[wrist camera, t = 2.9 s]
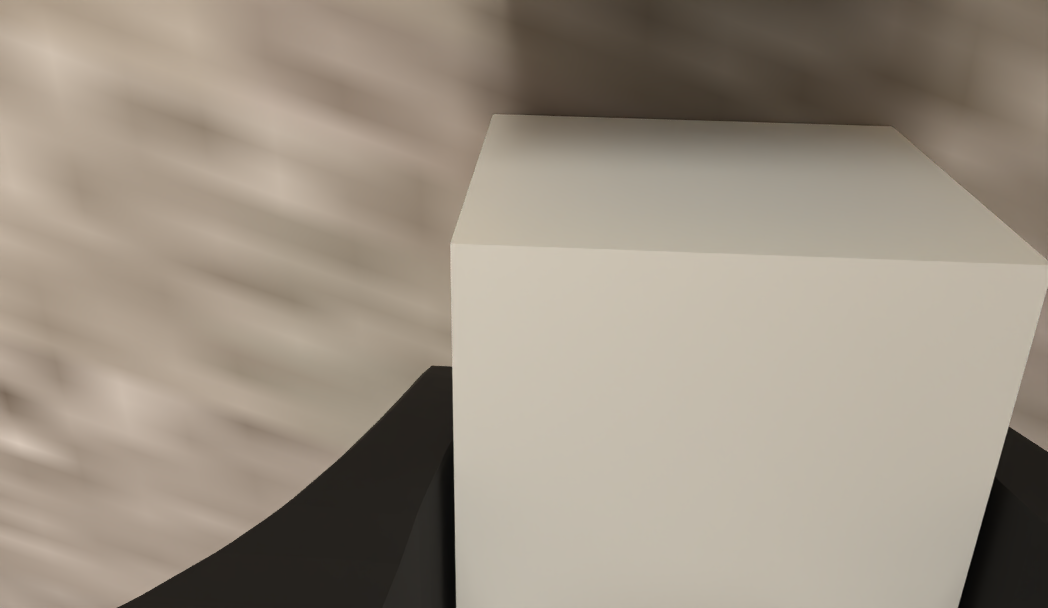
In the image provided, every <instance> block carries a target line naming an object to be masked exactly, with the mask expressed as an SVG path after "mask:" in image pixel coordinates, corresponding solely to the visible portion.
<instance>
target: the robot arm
mask: <svg viewBox="0 0 1048 608" xmlns="http://www.w3.org/2000/svg"><path fill="white" fill-rule="evenodd" d="M118 608H456V564H455V502H454V441H453V379H452V367H447V366H431V367H430V368H429V369H428V370H426V371H425V372H424V373H423V374H422V375H421V376H420V377H419V378H418V379H417V380H416V381H415V382H414V384H413V385H412V386H411V387H410V388H409V389H408V390H407V391H406V392H405V393H404V394H403V396H402V397H401V398H400V399H399V400H398V401H397V402H396V403H395V404H394V405H393V406H392V407H391V408H390V409H389V410H388V411H387V412H386V414H385V415H384V416H383V417H382V418H381V419H380V420H379V421H378V422H377V423H376V424H375V425H374V426H373V427H372V428H371V429H370V430H369V431H368V432H367V433H366V434H365V435H363V436H362V437H361V438H360V439H359V440H358V441H357V442H356V443H355V444H354V445H353V446H352V447H351V448H350V449H349V450H348V451H347V452H346V453H345V454H344V455H343V456H342V457H341V458H340V459H338V460H337V461H336V462H335V463H334V464H333V465H332V466H330V467H329V468H328V469H327V470H326V471H325V472H323V473H322V474H321V475H320V476H319V477H318V478H316V479H315V480H314V481H313V482H312V483H311V484H309V485H308V486H307V487H306V488H305V489H304V490H302V491H301V492H300V493H299V494H298V495H297V496H295V497H294V498H293V499H292V500H291V501H289V502H288V503H287V504H285V505H284V506H283V507H282V508H280V509H279V510H277V511H276V512H275V513H273V514H272V515H271V516H269V517H268V518H267V519H265V520H264V521H262V522H261V523H259V524H258V525H256V526H255V527H253V528H252V529H251V530H249V531H248V532H246V533H245V534H243V535H242V536H240V537H239V538H237V539H236V540H234V541H233V542H232V543H230V544H228V545H227V546H225V547H224V548H222V549H221V550H219V551H217V552H216V553H214V554H212V555H211V556H209V557H207V558H205V559H204V560H202V561H200V562H199V563H197V564H195V565H193V566H192V567H190V568H188V569H186V570H185V571H183V572H181V573H179V574H178V575H176V576H174V577H172V578H171V579H169V580H167V581H166V582H164V583H162V584H160V585H159V586H157V587H155V588H153V589H152V590H150V591H148V592H146V593H145V594H143V595H141V596H139V597H137V598H135V599H134V600H132V601H130V602H128V603H126V604H124V605H122V606H120V607H118ZM958 608H1048V452H1047V451H1045V450H1044V449H1042V448H1041V447H1039V446H1038V445H1036V444H1035V443H1033V442H1032V441H1030V440H1029V439H1027V438H1025V437H1024V436H1022V435H1021V434H1019V433H1018V432H1016V431H1015V430H1013V429H1012V428H1010V427H1008V430H1007V434H1006V438H1005V441H1004V445H1003V448H1002V452H1001V455H1000V459H999V463H998V466H997V470H996V473H995V477H994V480H993V484H992V488H991V491H990V495H989V498H988V502H987V505H986V509H985V512H984V516H983V520H982V523H981V527H980V530H979V534H978V537H977V541H976V545H975V548H974V552H973V555H972V559H971V562H970V566H969V570H968V573H967V577H966V580H965V584H964V587H963V591H962V595H961V598H960V602H959V605H958Z"/></svg>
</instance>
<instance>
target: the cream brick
mask: <svg viewBox="0 0 1048 608" xmlns="http://www.w3.org/2000/svg"><path fill="white" fill-rule="evenodd" d="M450 256H451V318H452V379H453V441H454V502H455V564H456V608H958V605H959V602H960V598H961V595H962V591H963V587H964V584H965V580H966V577H967V573H968V570H969V566H970V562H971V559H972V555H973V552H974V548H975V545H976V541H977V537H978V534H979V530H980V527H981V523H982V520H983V516H984V512H985V509H986V505H987V502H988V498H989V495H990V491H991V488H992V484H993V480H994V477H995V473H996V470H997V466H998V463H999V459H1000V455H1001V452H1002V448H1003V445H1004V441H1005V438H1006V434H1007V430H1008V427H1009V423H1010V420H1011V416H1012V413H1013V409H1014V405H1015V402H1016V398H1017V395H1018V391H1019V388H1020V384H1021V381H1022V377H1023V373H1024V370H1025V366H1026V363H1027V359H1028V356H1029V352H1030V348H1031V345H1032V341H1033V338H1034V334H1035V331H1036V327H1037V323H1038V320H1039V316H1040V313H1041V309H1042V306H1043V302H1044V298H1045V295H1046V291H1047V288H1048V260H1047V259H1046V258H1044V257H1043V256H1042V255H1041V254H1040V253H1039V252H1037V251H1036V250H1035V249H1034V248H1033V247H1032V246H1030V245H1029V244H1028V243H1027V242H1026V241H1025V240H1024V239H1022V238H1021V237H1020V236H1019V235H1018V234H1017V233H1015V232H1014V231H1013V230H1012V229H1011V228H1010V227H1008V226H1007V225H1006V224H1005V223H1004V222H1003V221H1001V220H1000V219H999V218H998V217H997V216H996V215H995V214H993V213H992V212H991V211H990V210H989V209H988V208H986V207H985V206H984V205H983V204H982V203H981V202H979V201H978V200H977V199H976V198H975V197H974V196H973V195H971V194H970V193H969V192H968V191H967V190H966V189H964V188H963V187H962V186H961V185H960V184H959V183H957V182H956V181H955V180H954V179H953V178H952V177H951V176H949V175H948V174H947V173H946V172H945V171H944V170H942V169H941V168H940V167H939V166H938V165H937V164H935V163H934V162H933V161H932V160H931V159H930V158H928V157H927V156H926V155H925V154H924V153H923V152H922V151H920V150H919V149H918V148H917V147H916V146H915V145H913V144H912V143H911V142H910V141H909V140H908V139H906V138H905V137H904V136H903V135H902V134H901V133H900V132H898V131H897V130H896V129H895V128H894V127H893V126H863V125H831V124H799V123H766V122H734V121H702V120H669V119H637V118H605V117H572V116H540V115H508V114H493V116H492V119H491V122H490V125H489V128H488V131H487V134H486V137H485V140H484V143H483V146H482V149H481V152H480V155H479V158H478V161H477V164H476V167H475V170H474V173H473V176H472V179H471V182H470V185H469V188H468V191H467V194H466V198H465V201H464V204H463V207H462V210H461V213H460V216H459V219H458V222H457V225H456V228H455V231H454V234H453V237H452V240H451V243H450Z"/></svg>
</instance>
